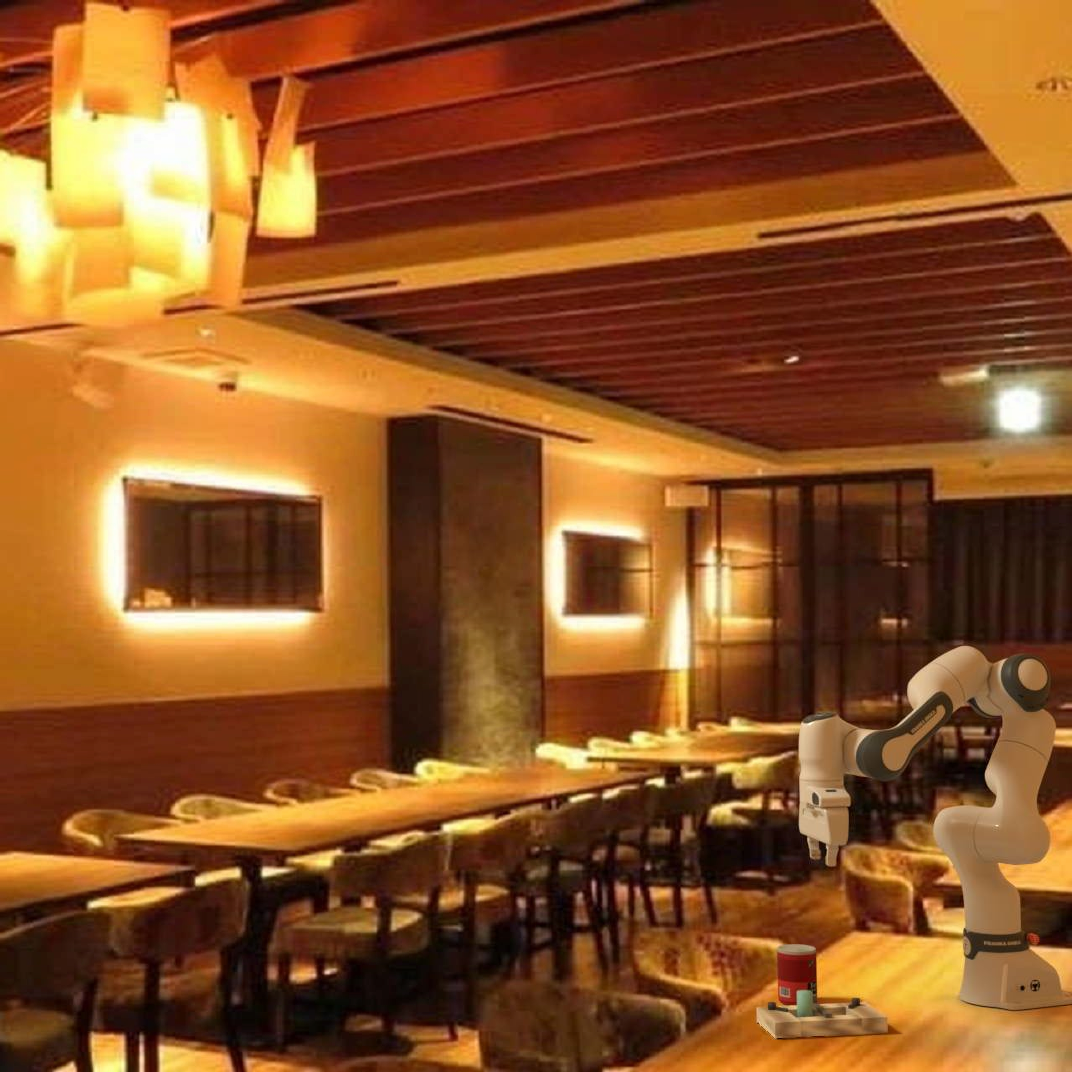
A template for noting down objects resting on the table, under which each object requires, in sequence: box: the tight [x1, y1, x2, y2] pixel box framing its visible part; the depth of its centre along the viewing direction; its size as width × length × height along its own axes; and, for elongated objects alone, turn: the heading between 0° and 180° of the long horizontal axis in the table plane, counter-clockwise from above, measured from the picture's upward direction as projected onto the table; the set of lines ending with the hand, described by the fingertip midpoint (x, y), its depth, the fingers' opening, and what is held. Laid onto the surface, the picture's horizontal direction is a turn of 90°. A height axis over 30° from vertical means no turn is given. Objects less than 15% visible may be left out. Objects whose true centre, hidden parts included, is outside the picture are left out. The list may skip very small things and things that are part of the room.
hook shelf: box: [756, 994, 889, 1040], centre depth 299 cm, size 22×12×5 cm, turn 99°
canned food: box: [776, 943, 818, 1006], centre depth 320 cm, size 8×8×11 cm
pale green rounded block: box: [797, 990, 813, 1017], centre depth 299 cm, size 3×3×7 cm
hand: (823, 862), depth 316 cm, fingers open, 8 cm apart
